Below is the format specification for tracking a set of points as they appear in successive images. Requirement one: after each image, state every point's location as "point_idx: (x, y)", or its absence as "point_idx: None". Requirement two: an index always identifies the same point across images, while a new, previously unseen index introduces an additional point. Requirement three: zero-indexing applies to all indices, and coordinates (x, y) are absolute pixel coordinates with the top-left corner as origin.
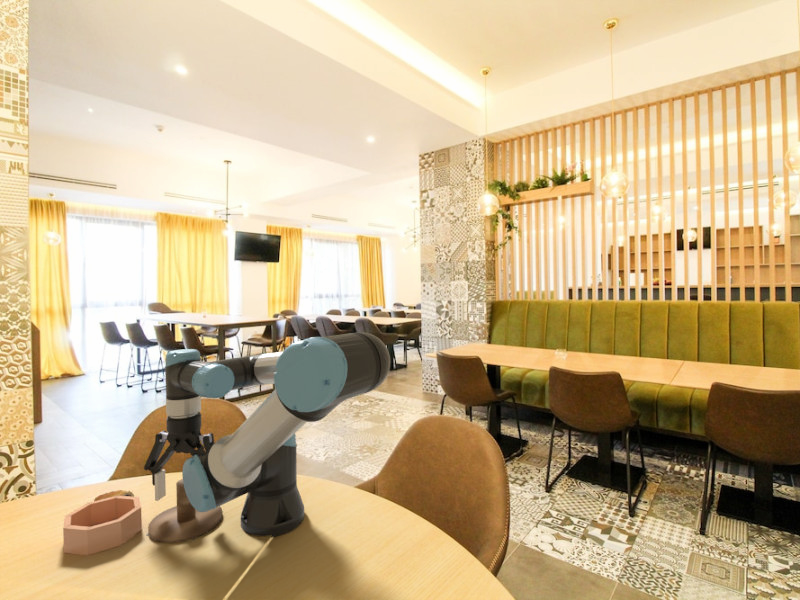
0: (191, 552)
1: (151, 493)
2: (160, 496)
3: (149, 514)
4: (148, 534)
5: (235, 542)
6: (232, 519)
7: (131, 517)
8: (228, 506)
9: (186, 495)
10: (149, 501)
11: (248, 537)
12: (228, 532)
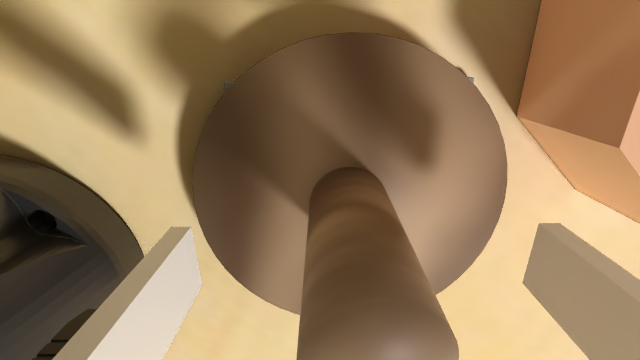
0: (176, 3)
1: None
2: (543, 254)
3: None
4: None
5: (47, 109)
6: None
7: (625, 53)
8: (268, 318)
9: (323, 250)
10: None
11: (25, 150)
12: (135, 169)
